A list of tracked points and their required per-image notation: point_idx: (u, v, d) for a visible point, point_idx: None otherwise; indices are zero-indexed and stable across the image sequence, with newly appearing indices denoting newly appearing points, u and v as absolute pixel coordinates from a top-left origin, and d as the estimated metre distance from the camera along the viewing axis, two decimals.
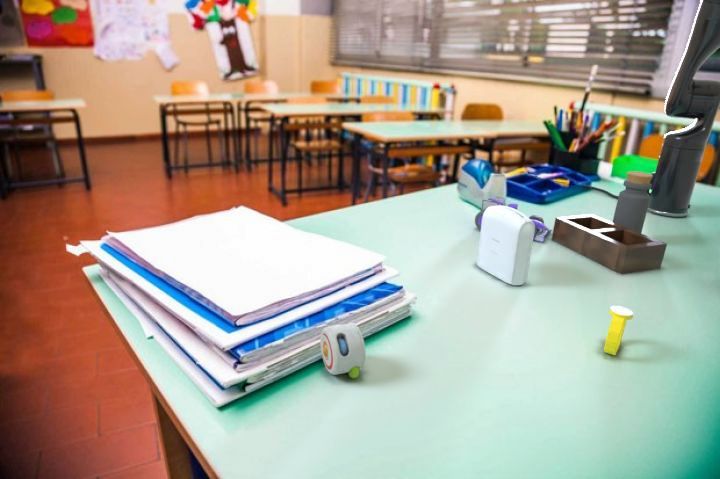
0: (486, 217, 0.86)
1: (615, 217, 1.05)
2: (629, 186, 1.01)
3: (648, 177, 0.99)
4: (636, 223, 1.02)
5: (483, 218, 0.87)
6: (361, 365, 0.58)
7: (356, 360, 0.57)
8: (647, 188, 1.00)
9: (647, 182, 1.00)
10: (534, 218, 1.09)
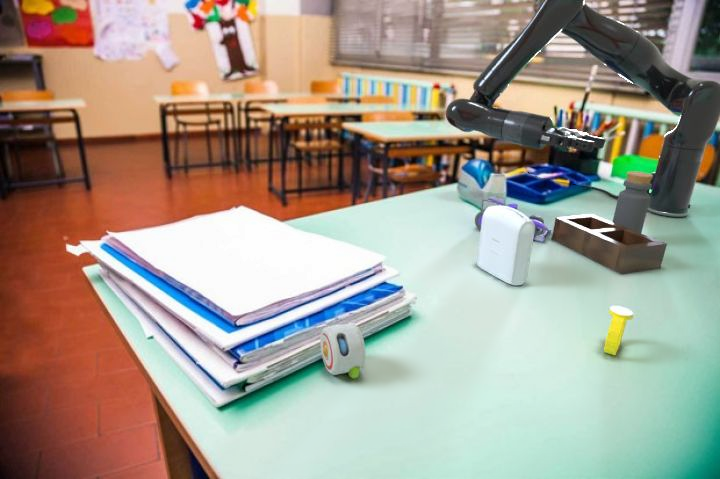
0: (486, 217, 0.86)
1: (615, 217, 1.05)
2: (629, 186, 1.01)
3: (648, 177, 0.99)
4: (636, 223, 1.02)
5: (483, 218, 0.87)
6: (361, 365, 0.58)
7: (356, 360, 0.57)
8: (647, 188, 1.00)
9: (647, 182, 1.00)
10: (534, 218, 1.09)
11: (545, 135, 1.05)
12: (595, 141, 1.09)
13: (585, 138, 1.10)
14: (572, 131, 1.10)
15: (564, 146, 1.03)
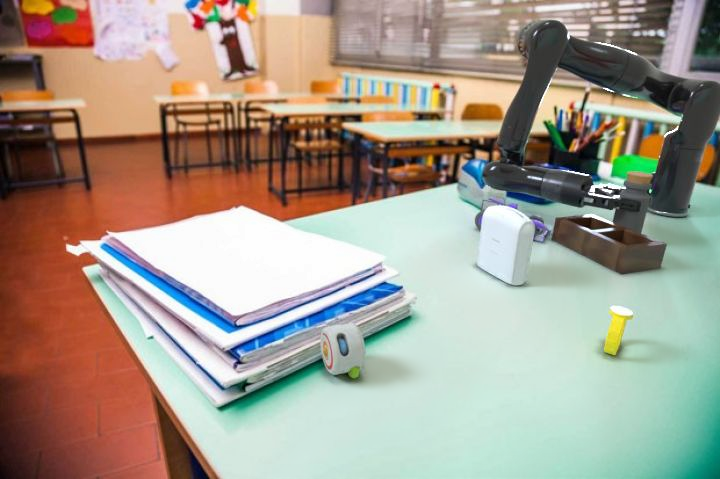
0: (486, 217, 0.86)
1: (615, 217, 1.05)
2: (629, 186, 1.01)
3: (648, 177, 0.99)
4: (636, 223, 1.02)
5: (483, 218, 0.87)
6: (361, 365, 0.58)
7: (356, 360, 0.57)
8: (647, 188, 1.00)
9: (647, 182, 1.00)
10: (534, 218, 1.09)
11: (588, 197, 1.03)
12: None
13: None
14: (614, 189, 1.07)
15: (610, 207, 1.01)
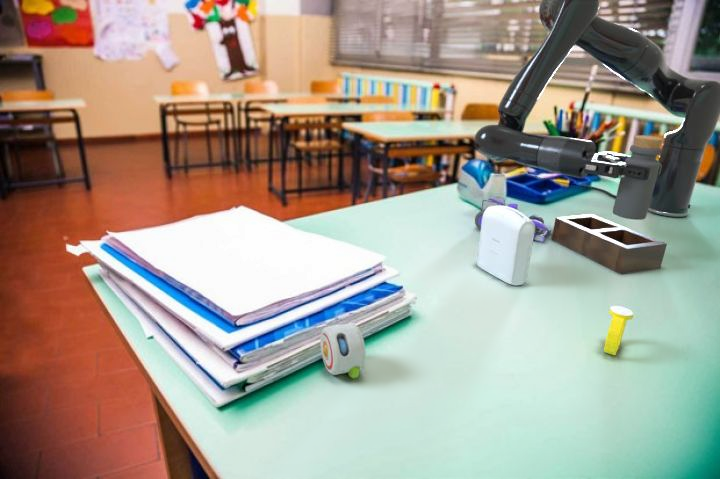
0: (486, 217, 0.86)
1: (620, 187, 0.93)
2: (636, 151, 0.90)
3: (658, 140, 0.88)
4: (643, 193, 0.91)
5: (483, 218, 0.87)
6: (361, 365, 0.58)
7: (356, 360, 0.57)
8: (657, 153, 0.89)
9: (657, 146, 0.89)
10: (534, 218, 1.09)
11: (590, 164, 0.92)
12: None
13: None
14: (619, 156, 0.96)
15: (614, 175, 0.90)
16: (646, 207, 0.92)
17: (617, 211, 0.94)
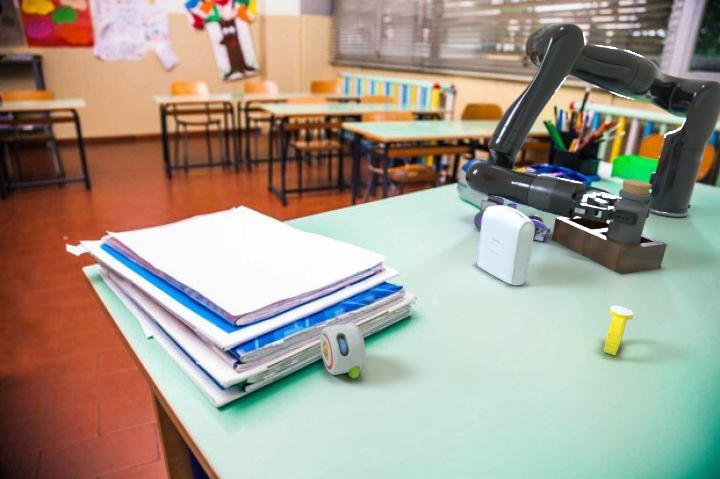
0: (486, 217, 0.86)
1: (609, 230, 0.94)
2: (625, 196, 0.90)
3: (646, 187, 0.89)
4: (632, 238, 0.91)
5: (483, 218, 0.87)
6: (361, 365, 0.58)
7: (356, 360, 0.57)
8: (645, 199, 0.89)
9: (645, 192, 0.89)
10: (533, 217, 1.09)
11: (580, 207, 0.92)
12: None
13: None
14: (608, 198, 0.96)
15: (603, 219, 0.90)
16: None
17: None
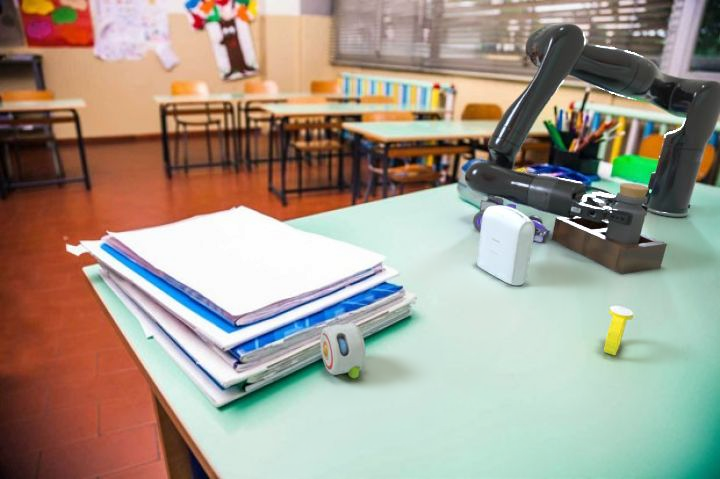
0: (486, 217, 0.86)
1: (607, 234, 0.94)
2: (622, 200, 0.91)
3: (643, 190, 0.89)
4: (630, 241, 0.92)
5: (483, 218, 0.87)
6: (361, 365, 0.58)
7: (356, 360, 0.57)
8: (642, 202, 0.90)
9: (642, 196, 0.90)
10: (533, 218, 1.09)
11: (575, 206, 0.93)
12: None
13: None
14: (608, 198, 0.97)
15: (598, 219, 0.90)
16: None
17: None
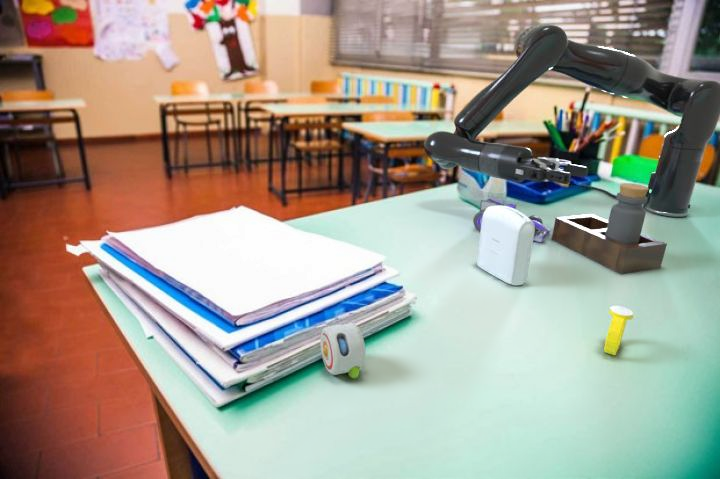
0: (486, 217, 0.86)
1: (607, 234, 0.94)
2: (622, 200, 0.91)
3: (643, 190, 0.89)
4: (630, 241, 0.92)
5: (483, 218, 0.87)
6: (361, 365, 0.58)
7: (356, 360, 0.57)
8: (642, 202, 0.90)
9: (642, 196, 0.90)
10: (533, 218, 1.09)
11: (518, 168, 0.99)
12: (577, 170, 1.02)
13: (567, 167, 1.03)
14: (552, 161, 1.03)
15: (538, 179, 0.97)
16: None
17: None
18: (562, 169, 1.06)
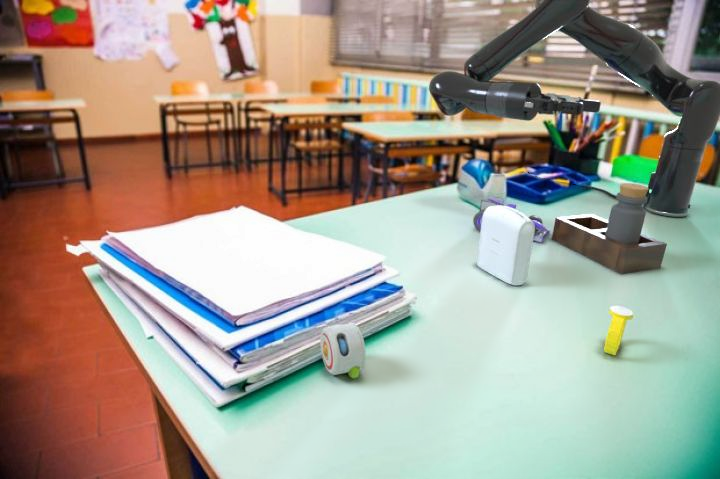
0: (486, 217, 0.86)
1: (607, 234, 0.94)
2: (622, 200, 0.91)
3: (643, 190, 0.89)
4: (630, 241, 0.92)
5: (483, 218, 0.87)
6: (361, 365, 0.58)
7: (356, 360, 0.57)
8: (642, 202, 0.90)
9: (642, 196, 0.90)
10: (533, 218, 1.09)
11: (528, 101, 0.95)
12: (589, 105, 0.97)
13: None
14: (562, 96, 0.99)
15: (549, 111, 0.92)
16: None
17: None
18: None
